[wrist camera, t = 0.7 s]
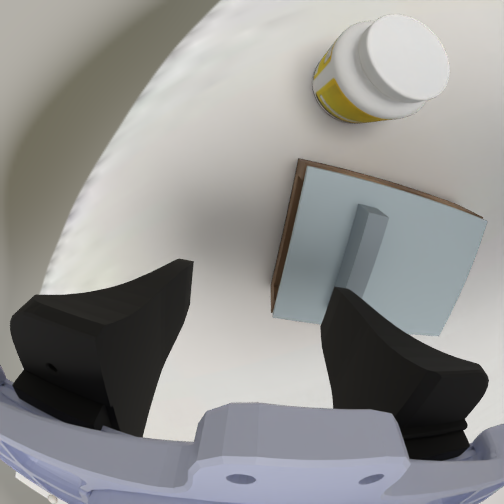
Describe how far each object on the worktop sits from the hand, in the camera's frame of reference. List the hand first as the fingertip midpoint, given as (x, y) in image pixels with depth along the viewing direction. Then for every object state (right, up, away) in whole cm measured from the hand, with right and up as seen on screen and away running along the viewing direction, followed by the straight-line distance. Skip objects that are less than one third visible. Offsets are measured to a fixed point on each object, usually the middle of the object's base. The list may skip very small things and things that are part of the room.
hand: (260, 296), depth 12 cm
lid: (+9, +1, +6) cm, 11 cm away
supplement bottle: (+6, +13, +6) cm, 16 cm away
